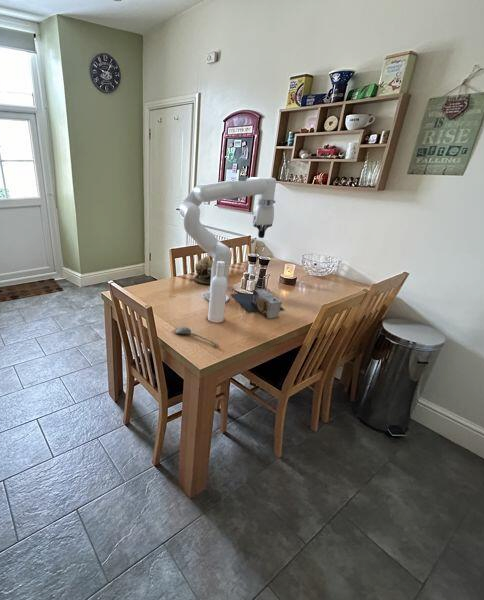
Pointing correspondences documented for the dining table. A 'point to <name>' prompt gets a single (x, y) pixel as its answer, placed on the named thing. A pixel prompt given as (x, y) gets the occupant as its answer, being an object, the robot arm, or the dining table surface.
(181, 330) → the soupspoon
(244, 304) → the mat
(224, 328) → the dining table surface
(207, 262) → the owl figurine
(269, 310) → the coffee box
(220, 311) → the bottle
